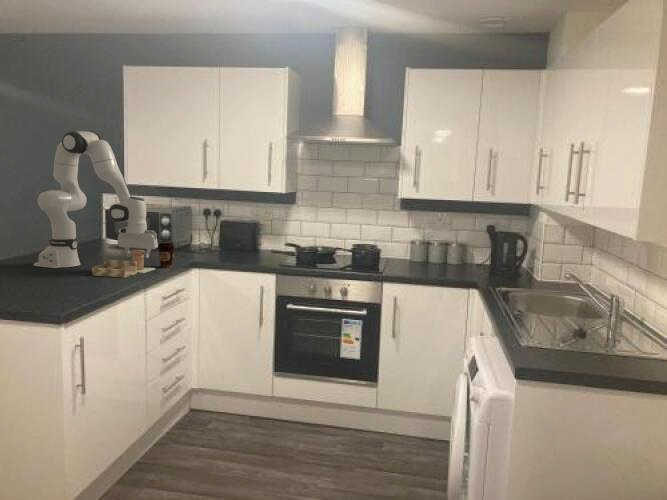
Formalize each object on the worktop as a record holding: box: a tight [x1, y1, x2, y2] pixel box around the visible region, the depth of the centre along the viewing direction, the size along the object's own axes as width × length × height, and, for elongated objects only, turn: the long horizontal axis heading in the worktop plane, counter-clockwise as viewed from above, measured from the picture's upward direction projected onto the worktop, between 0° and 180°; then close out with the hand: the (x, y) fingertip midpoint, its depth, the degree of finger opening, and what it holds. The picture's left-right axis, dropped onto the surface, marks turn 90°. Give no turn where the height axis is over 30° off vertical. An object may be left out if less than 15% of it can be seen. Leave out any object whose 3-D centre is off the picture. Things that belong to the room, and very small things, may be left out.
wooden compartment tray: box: [91, 258, 138, 278], centre depth 279 cm, size 17×11×6 cm, turn 79°
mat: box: [137, 267, 156, 274], centre depth 291 cm, size 12×12×1 cm
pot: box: [130, 249, 146, 270], centre depth 290 cm, size 6×6×10 cm
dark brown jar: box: [157, 241, 176, 268], centre depth 302 cm, size 9×8×13 cm
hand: (138, 257), depth 290 cm, fingers open, 8 cm apart
